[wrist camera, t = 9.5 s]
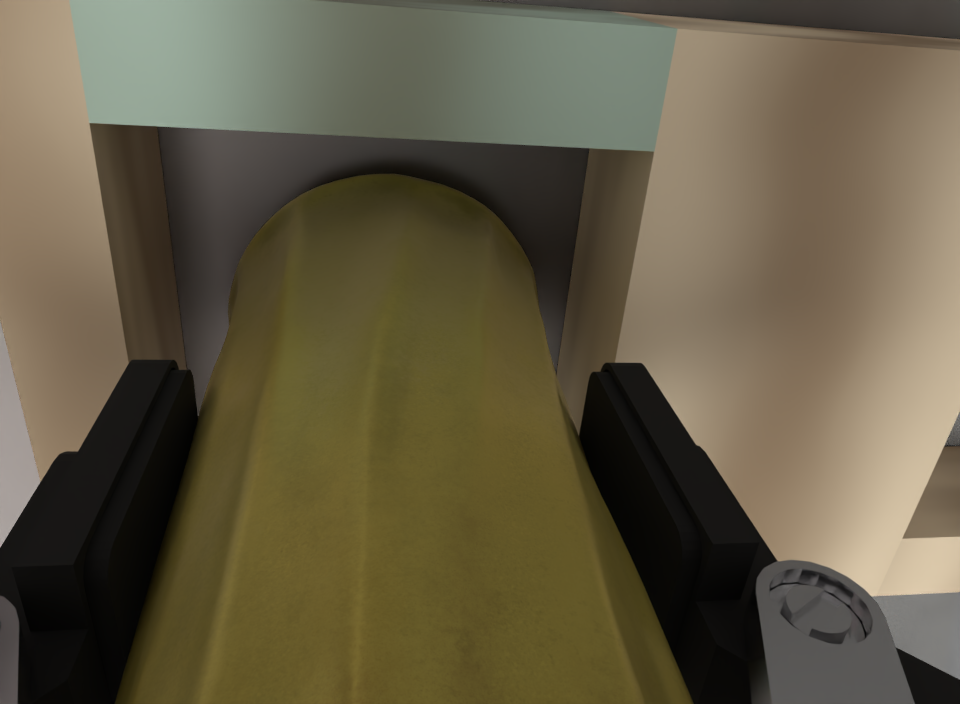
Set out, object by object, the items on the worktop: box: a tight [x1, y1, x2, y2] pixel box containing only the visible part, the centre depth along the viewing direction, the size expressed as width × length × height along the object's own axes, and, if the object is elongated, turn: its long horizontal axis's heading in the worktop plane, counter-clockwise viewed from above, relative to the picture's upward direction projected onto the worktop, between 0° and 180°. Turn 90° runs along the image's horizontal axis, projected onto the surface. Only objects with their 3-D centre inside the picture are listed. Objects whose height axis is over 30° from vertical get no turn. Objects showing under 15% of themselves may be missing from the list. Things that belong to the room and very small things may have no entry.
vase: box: [115, 174, 694, 704], centre depth 9 cm, size 6×6×14 cm
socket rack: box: [0, 0, 960, 596], centre depth 16 cm, size 28×12×4 cm, turn 85°
